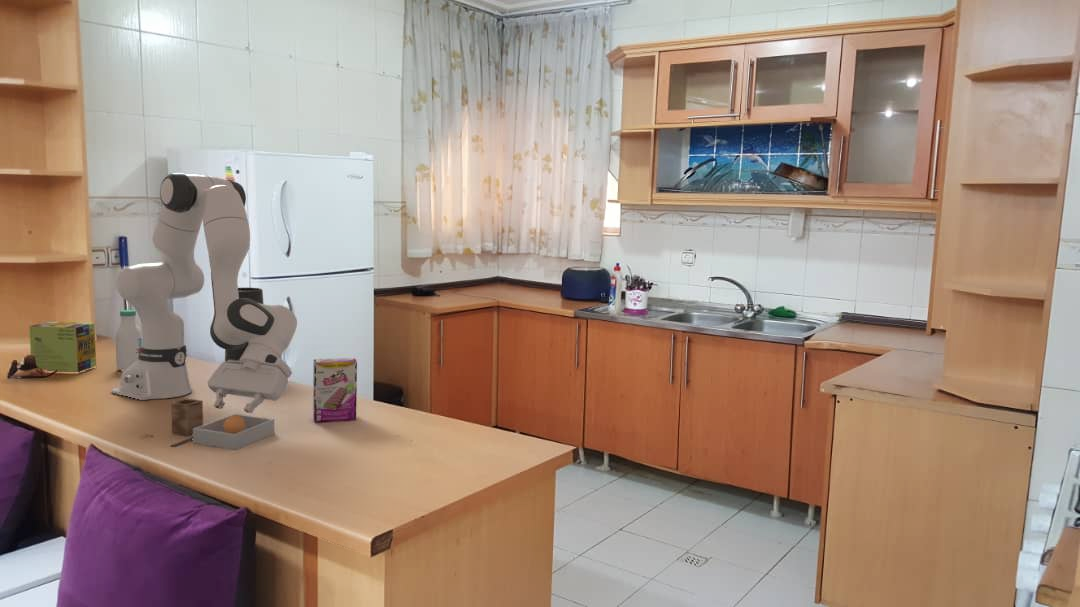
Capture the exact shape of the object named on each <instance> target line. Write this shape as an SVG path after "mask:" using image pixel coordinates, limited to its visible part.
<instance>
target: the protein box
mask: <svg viewBox="0 0 1080 607" xmlns="http://www.w3.org/2000/svg"><path fill="white" fill-rule="evenodd" d="M95 327H96V326H95V322H80V321H74V322H73V321H48V322H43V323H37V324H33V325H30V326H29V344H30V346H29V347H30V356H31V355H33V356H35V360H36V365H37V366H38V367H39V368H42V369H44V370H47V371H54V370H57V371H58V372H80V371H83V370H86V369H89V368H92V367H94V366H96V367H97V354H96V353H97V351H96V350H97V349H96V334H95V332H96V331H95Z"/></svg>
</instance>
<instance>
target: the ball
mask: <svg viewBox="0 0 1080 607" xmlns="http://www.w3.org/2000/svg"><path fill="white" fill-rule="evenodd" d="M223 428H224V431H225V433H231V434H236V433H238V432H241V431H243V430H244V429H245V421H244V420H243V419H242V418H241V417H239V416H231V417H229V418H227V419H226V420H225V422H224V425H223Z"/></svg>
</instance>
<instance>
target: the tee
mask: <svg viewBox="0 0 1080 607" xmlns="http://www.w3.org/2000/svg"><path fill="white" fill-rule="evenodd" d="M203 407H204V406H203V400H199V399H195V398H184V399H181V400H177V401H174V402H171V403H170V410H171V412H170V413H171V435H172V434H173V435H176V434H179V435H178V436H182V435H186V436H185V437H190V436H189V435H191V436H193V435H192V434H193V428H196V427H199V426H202V425H204V416H203V415H204V413H203V412H204V410H203V409H204V408H203Z"/></svg>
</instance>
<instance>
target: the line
mask: <svg viewBox="0 0 1080 607" xmlns="http://www.w3.org/2000/svg"><path fill="white" fill-rule="evenodd" d="M192 439H193V436H192V437H191V436H190V437H189V438H187V439H184V440H181V441H177V442H176V443H173V444H171V445H170V447H172V446H175V447H177V445H178V446H180V445H179V444H181V445H182V443H183V444H185V443H184V442H186V443H188V442H187V441H189V440H191V441H193V440H192ZM189 442H190V441H189Z"/></svg>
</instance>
